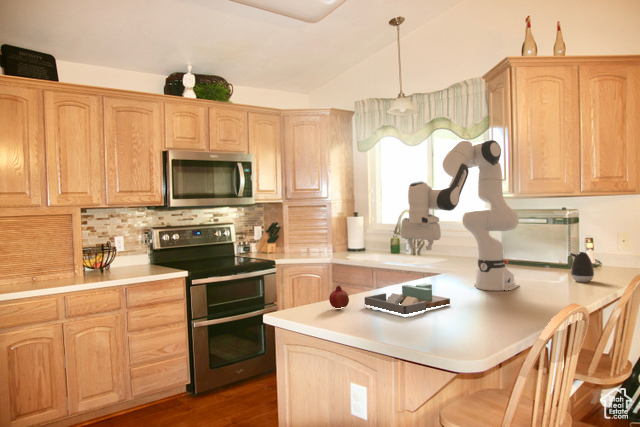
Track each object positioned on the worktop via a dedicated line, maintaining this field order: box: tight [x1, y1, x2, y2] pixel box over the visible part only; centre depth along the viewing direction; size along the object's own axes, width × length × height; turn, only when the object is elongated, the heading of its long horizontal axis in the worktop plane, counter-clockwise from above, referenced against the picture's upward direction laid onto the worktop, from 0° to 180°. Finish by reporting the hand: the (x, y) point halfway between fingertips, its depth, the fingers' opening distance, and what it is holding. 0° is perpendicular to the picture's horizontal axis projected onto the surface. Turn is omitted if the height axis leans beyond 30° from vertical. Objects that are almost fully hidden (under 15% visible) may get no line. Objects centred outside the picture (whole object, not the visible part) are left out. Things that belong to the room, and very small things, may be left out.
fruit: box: [328, 285, 350, 309], centre depth 183 cm, size 8×8×10 cm
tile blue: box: [386, 293, 403, 304], centre depth 185 cm, size 5×5×2 cm
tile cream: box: [401, 296, 419, 306], centre depth 178 cm, size 5×5×2 cm
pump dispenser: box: [569, 251, 595, 283], centre depth 226 cm, size 10×10×15 cm
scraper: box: [401, 283, 433, 301], centre depth 188 cm, size 9×14×5 cm, turn 35°
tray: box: [364, 292, 426, 314], centre depth 179 cm, size 12×23×4 cm, turn 35°
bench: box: [387, 293, 451, 308], centre depth 187 cm, size 16×20×3 cm
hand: (420, 249), depth 196 cm, fingers open, 8 cm apart
